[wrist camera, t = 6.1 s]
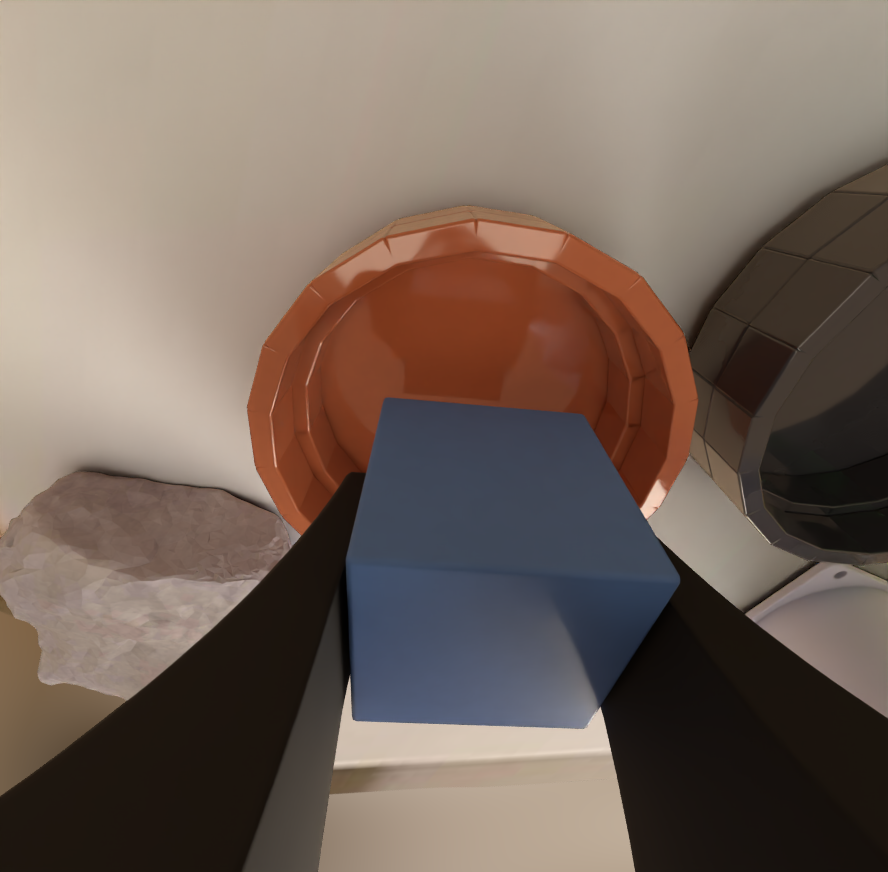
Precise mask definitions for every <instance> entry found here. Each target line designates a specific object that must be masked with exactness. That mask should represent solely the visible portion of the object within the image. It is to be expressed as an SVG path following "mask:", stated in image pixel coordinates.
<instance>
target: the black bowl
mask: <svg viewBox="0 0 888 872" xmlns="http://www.w3.org/2000/svg"><path fill="white" fill-rule="evenodd" d="M689 357H690V362H691V366H692V371H693V376H694V380H695V385H696V389H697V394H698V400H699V401H698V406H697V412H696V417H695V423H694V428H693V434H692V439H691V445H690V450H689V453H690V455H691V456H692V457H693V458H694V459H695V460H696V461H697V463H698V464H699V465H700V466H701V467H702V468H703V469H704V471H705V472H706V473H707V474H708V475H709V476H710V477H711V479H712V480H713V481H714V482H715V483H716V484H717V485H718V487H719V488H720V489H721V490H722V491H723V492H724V493H725V494H726V496H727V497H728V498H729V499H730V500H731V501H732V502H733V503H734V505H735V506H736V507H737V508H738V509H739V510H740V511H741V513H742V514H743V515H744V516H745V517H746V518H747V519H748V520H749V522H750V523H751V524H752V525H753V526H754V527H755V528H756V530H757V531H758V532H759V533H760V534H761V535H762V536H763V537H764V539H765V540H766V541H767V542H768V543H770V545H773V546H775V547H777V548H780V549H782V550H784V551H787V552H789V553H792V554H794V555H796V556H799V557H801V558H804V559H806V560H808V561H810V560H811V561H816V562H827V563H838V564H849V565H869V564H878V563H886V562H888V164H887V165H885V166H883V167H881V168H879V169H877V170H875V171H873V172H871V173H869V174H867V175H865V176H863V177H861V178H859V179H857V180H854V181H852V182H850V183H848V184H846V185H844V186H842V187H840V188H838V189H836V190H834V191H833V192H831V193H829V194H828V195H826V196H825V197H824V198H823V199H821V200H820V201H819V202H818V203H816V204H815V205H814V206H813V207H811V208H810V209H809V210H807V211H806V212H805V213H804V214H802V215H801V216H800V217H799V218H797V219H796V220H795V221H794V222H792V223H791V224H790V225H789V226H787V227H786V228H785V229H783V230H782V231H781V232H780V233H778V234H777V235H776V236H775V237H773V238H772V239H771V240H770V241H768V242H767V243H766V244H765V245H764V246H763V248H761V249H760V250H759V251H758V252H757V253H756V255H755V256H754V257H753V258H752V260H751V261H750V262H749V263H748V264H747V266H746V267H745V268H744V269H743V270H742V272H741V273H740V274H739V275H738V276H737V278H736V279H735V280H734V281H733V282H732V284H731V285H730V286H729V287H728V288H727V290H726V291H725V292H724V293H723V294H722V296H721V297H720V298H719V299H718V300H717V302H716V303H715V304H714V308H712V309H711V310H710V313H709V315H708V317H707V319H706V321H705V323H704V325H703V327H702V329H701V331H700V333H699V335H698V337H697V339H696V341H695V343H694V345H693V347H692V349H691V351H690V353H689Z"/></svg>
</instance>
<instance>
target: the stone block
mask: <svg viewBox="0 0 888 872" xmlns="http://www.w3.org/2000/svg"><path fill="white" fill-rule="evenodd" d="M291 548H292V546H291V543H290V540H289V534H288V533H287V530H286V528H285V526H284V524H283V522H282V521H281V519H280V518H279V517H278V516H277V515H275V514H273V513H271V512H269V511H266V510H264V509H261V508H259V507H257V506H255V505H252V504H250V503H248V502H245V501H243V500H240V499H238V498H236V497H234V496H232V495H230V494H229V493H227V492H225V491H224V490H219V489H212V488H196V487H189V486H182V485H171V484H164V483H158V482H153V481H149V480H146V479H142V478H127V477H112V476H109V475H105V474H102V473H96V472H82V471H81V472H74V473H72V474H69V475H67V476H64V477H62V478H60V479H58V480H57V481H56V482H55V483H54V484H53V485H52V486H51V487H50V488H48V489H47V490H45V491H43V492H41V493H40V494H38V495H36V496H35V497H34V498H33V499H32V500H31V501H30V502H29V503H28V504H27V505H26V507H25V508H24V509H23V510H22V512H21V513H20V515H19V517H17V518H14V519H11V521H10V523H9V526H8V529H7V530H6V532H5V534H4V535H3V536H2V537H1V538H0V595H1V596H2V597H3V598H4V600H5V601H6V603H7V607H8V608H10V609H11V611H12V614H13V616H14V618H16V619H19V620H23V621H26V622H28V623H29V624H31V625H32V626H34V627H35V628H36V630H37V632H38V643H39V646H40V647H41V649H42V653H41V657H40V663H39V668H38V678H39V679H40V681H41V682H43V683H46V684H49V685H54V684H57V683H69V684H74V685H80V686H83V687H85V688H88V689H93V690H96V691H98V692H101V693H104V694H107V695H116V696H119V697H121V698H123V699H125V700H126V701H127V700H129V699H130V698H131V697H132V696H134V695H135V694H136V693H138V692H139V691H140V690H141V689H143V688H144V687H145V686H146V685H147V684H149V683H150V682H151V681H152V680H153V679H155V678H156V677H157V676H158V675H159V674H161V673H162V672H163V671H164V670H165V669H167V668H168V667H169V666H170V665H171V664H173V663H174V662H175V661H176V660H177V659H178V658H179V657H180V656H182V655H183V654H184V653H185V652H186V651H187V650H188V649H190V648H191V647H192V646H193V645H194V644H195V643H196V642H198V641H199V640H200V639H201V638H202V637H203V636H204V635H205V634H207V633H208V632H209V631H210V630H211V629H212V628H213V627H214V626H215V625H217V624H218V623H219V622H220V621H221V620H222V619H223V618H224V617H225V616H226V615H227V614H228V613H229V612H230V611H231V610H232V609H233V608H234V607H236V606H237V605H238V604H239V603H240V602H241V601H242V600H243V599H244V598H245V597H246V596H247V595H248V594H249V593H250V592H251V591H252V590H253V589H254V588H255V587H256V586H257V585H258V584H259V583H260V581H261V580H262V579H263V578H264V577H265V576H266V575H267V574H268V573H269V572H270V571H271V570H272V568H273V567H274V566H275V565H276V564H277V563H278V562H279V561H280V560H281V559H282V558H283V556H284V555H285V554H286V553H287V552H288V551H289V550H290V549H291Z"/></svg>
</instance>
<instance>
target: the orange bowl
mask: <svg viewBox="0 0 888 872" xmlns="http://www.w3.org/2000/svg"><path fill="white" fill-rule="evenodd" d="M388 397H390V398H401V399H413V400H425V401H436V402H448V403H460V404H471V405H483V406H495V407H506V408H518V409H530V410H541V411H553V412H565V413H576V414H582V415H584V416H585V417H586V419H587V421H588V422H589V424H590V426H591V428H592V429H593V431H594V433H595V434H596V436H597V438H598V439H599V441H600V443H601V444H602V446H603V448H604V449H605V451H606V453H607V454H608V456H609V458H610V460H611V461H612V463H613V465H614V466H615V468H616V470H617V471H618V473H619V475H620V476H621V478H622V480H623V481H624V483H625V485H626V487H627V488H628V490H629V492H630V493H631V495H632V497H633V498H634V500H635V502H636V503H637V505H638V507H639V508H640V510H641V512H642V513H643V515H644V517H645V519H646V520H647V519H648V518H649V517H650V516H651V515H652V514H653V513H654V512H655V511H656V510H657V509H658V507H660V506H661V504H662V503H663V501H664V499H665V497H666V496H667V494H668V492H669V490H670V489H671V487H672V485H673V483H674V482H675V480H676V478H677V476H678V475H679V473H680V471H681V469H682V468H683V466H684V464H685V462H686V461H687V457H688V456H689V450H690V445H691V439H692V434H693V428H694V423H695V417H696V412H697V406H698V401H699V400H698V394H697V389H696V385H695V380H694V376H693V371H692V366H691V362H690V357H689V352H688V348H687V343H686V339H685V336H684V333H683V331H682V330H681V328H680V327H679V325H678V324H677V323H676V321H675V320H674V319H673V317H672V316H671V315H670V313H669V312H668V310H667V309H666V308H665V306H664V305H663V304H662V302H661V301H660V300H659V298H658V297H657V296H656V294H655V293H654V291H653V290H652V289H651V287H650V286H649V285H648V283H647V282H646V281H645V279H644V278H643V277H642V276H640V275H639V274H638V272H636V271H634V270H632V269H631V268H629V267H627V266H626V265H624V264H622V263H621V262H619V261H617V260H615V259H614V258H612V257H610V256H609V255H607V254H605V253H603V252H602V251H600V250H598V249H597V248H595V247H593V246H592V245H590V244H588V243H586V242H585V241H583V240H581V239H580V238H578V237H576V236H574V235H573V234H571V233H569V232H567V231H565V230H563V229H561V228H559V227H557V226H555V225H552V224H550V223H548V222H546V221H544V220H542V219H540V218H538V217H535V216H533V215H528V214H521V213H515V212H509V211H502V210H496V209H490V208H483V207H477V206H471V205H467V206H466V205H463V206H458V207H453V208H448V209H443V210H438V211H433V212H429V213H424V214H419V215H414V216H409V217H404V218H400V219H399V220H395V221H394V222H392V223H390V224H389V225H387V226H386V227H384V228H382V229H381V230H379V231H378V232H376V233H374V234H373V235H371V236H370V237H368V238H366V239H365V240H363V241H362V242H360V243H358V244H357V245H355V246H354V247H352V248H350V249H349V250H347V251H345V252H344V253H343V254H341V255H340V256H339V257H338V258H337V259H336V260H335V261H333V262H332V263H331V264H330V265H329V266H328V267H327V268H325V269H324V270H323V271H322V272H321V273H320V274H319V275H317V276H316V277H315V278H314V279H313V280H312V281H311V282H310V283H309V284H308V285H307V286H306V287H305V289H304V290H303V291H302V292H301V294H300V295H299V296H298V298H297V299H296V300H295V302H294V303H293V304H292V306H291V307H290V308H289V310H288V311H287V312H286V314H285V315H284V316H283V318H282V319H281V320H280V322H279V323H278V324H277V326H276V327H275V328H274V330H273V331H272V332H271V334H270V335H269V336H268V338H267V339H266V340H265V343H264V344H263V346H262V350H261V353H260V357H259V361H258V365H257V369H256V373H255V377H254V381H253V385H252V389H251V392H250V396H249V400H248V404H247V412H248V420H249V427H250V434H251V441H252V448H253V455H254V462H255V466H256V470H257V472H258V474H259V475H260V477H261V479H262V481H263V483H264V485H265V486H266V488H267V490H268V492H269V494H270V496H271V498H272V499H273V501H274V503H275V505H276V507H277V509H278V510H279V512H280V514H281V515H282V517H283V518H284V519H285V520H286V521H287V522H288V523H289V524H290V525H291V526H292V527H293V528H294V529H295V530H296V531H297V532H298V533H299V534H300V535H301V536H302V534H303V533H304V532H305V531H306V530H307V528H308V527H309V526H310V525H311V523H312V522H313V521H314V520H315V519H316V517H317V516H318V515H319V513H320V512H321V511H322V509H323V508H324V507H325V506H326V504H327V503H328V502H329V500H330V499H331V497H332V496H333V495H334V493H335V492H336V490H337V489H338V487H339V486H340V484H341V483H342V481H343V480H344V478H345V477H346V475H348V474H349V473H350V472H361V473H366V472H367V468H368V463H369V459H370V455H371V451H372V447H373V442H374V438H375V434H376V430H377V426H378V421H379V417H380V413H381V409H382V404H383V401H384V399H385V398H388Z"/></svg>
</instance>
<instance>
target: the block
mask: <svg viewBox="0 0 888 872" xmlns="http://www.w3.org/2000/svg"><path fill="white" fill-rule="evenodd" d="M346 580H347V605H348V629H349V654H350V679H351V704H352V717H353V720H355V721H369V722H398V723H428V724H457V725H487V726H516V727H546V728H575V729H584V728H586V727H587V726H588V725H589V723H590V722H591V720H592V719H593V717H594V715H595V714H596V712H597V711H598V709H599V708H600V706H601V705H602V703H603V702H604V700H605V698H606V697H607V695H608V694H609V692H610V691H611V689H612V688H613V686H614V685H615V683H616V681H617V680H618V678H619V677H620V675H621V674H622V672H623V671H624V669H625V668H626V666H627V664H628V663H629V661H630V660H631V658H632V657H633V655H634V654H635V652H636V651H637V649H638V647H639V646H640V644H641V643H642V641H643V640H644V638H645V637H646V635H647V634H648V632H649V631H650V629H651V627H652V626H653V624H654V623H655V621H656V620H657V618H658V617H659V615H660V614H661V612H662V610H663V609H664V607H665V606H666V604H667V603H668V601H669V600H670V598H671V597H672V595H673V593H674V592H675V590H676V589H677V587H678V586H679V584H680V576H679V574H678V572H677V571H676V569H675V567H674V566H673V564H672V562H671V561H670V559H669V557H668V556H667V554H666V552H665V551H664V549H663V547H662V545H661V544H660V542H659V540H658V539H657V537H656V535H655V534H654V532H653V530H652V529H651V527H650V525H649V524H648V522H647V520H646V519H645V517H644V515H643V513H642V512H641V510H640V508H639V507H638V505H637V503H636V502H635V500H634V498H633V497H632V495H631V493H630V492H629V490H628V488H627V487H626V485H625V483H624V481H623V480H622V478H621V476H620V475H619V473H618V471H617V470H616V468H615V466H614V465H613V463H612V461H611V460H610V458H609V456H608V454H607V453H606V451H605V449H604V448H603V446H602V444H601V443H600V441H599V439H598V438H597V436H596V434H595V433H594V431H593V429H592V428H591V426H590V424H589V422H588V421H587V419H586V417H585V416H584V415H582V414H576V413H565V412H553V411H541V410H530V409H518V408H506V407H495V406H483V405H471V404H460V403H448V402H436V401H425V400H413V399H401V398H390V397H388V398H385V399H384V401H383V404H382V409H381V413H380V417H379V421H378V426H377V430H376V434H375V438H374V442H373V447H372V451H371V455H370V459H369V463H368V468H367V472H366V476H365V480H364V484H363V489H362V493H361V497H360V501H359V505H358V510H357V514H356V518H355V522H354V527H353V531H352V535H351V539H350V543H349V548H348V552H347V556H346Z"/></svg>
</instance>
